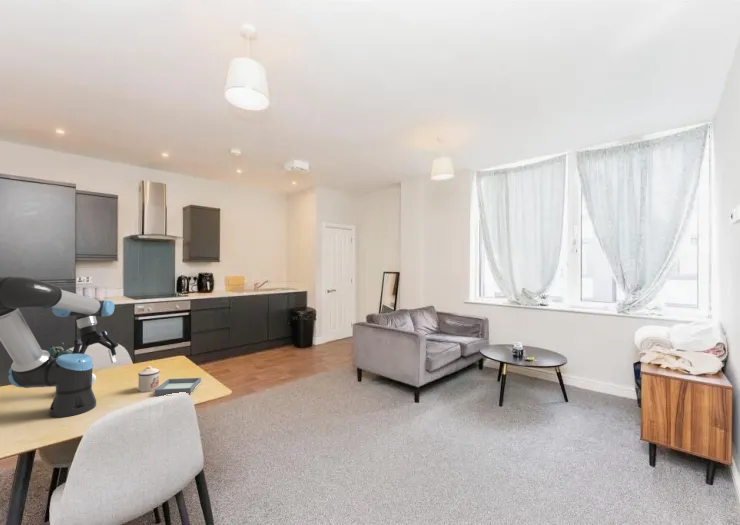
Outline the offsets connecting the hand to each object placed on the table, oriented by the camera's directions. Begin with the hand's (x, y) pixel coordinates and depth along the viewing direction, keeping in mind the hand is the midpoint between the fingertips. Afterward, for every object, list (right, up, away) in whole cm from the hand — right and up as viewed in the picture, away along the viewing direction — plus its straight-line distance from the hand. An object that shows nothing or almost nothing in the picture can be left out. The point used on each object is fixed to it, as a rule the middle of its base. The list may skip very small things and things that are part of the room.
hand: (99, 367), depth 163 cm
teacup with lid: (+22, -13, +5) cm, 26 cm away
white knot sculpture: (-9, -12, -2) cm, 15 cm away
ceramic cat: (-33, -12, +16) cm, 38 cm away
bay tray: (+38, -13, +4) cm, 40 cm away
